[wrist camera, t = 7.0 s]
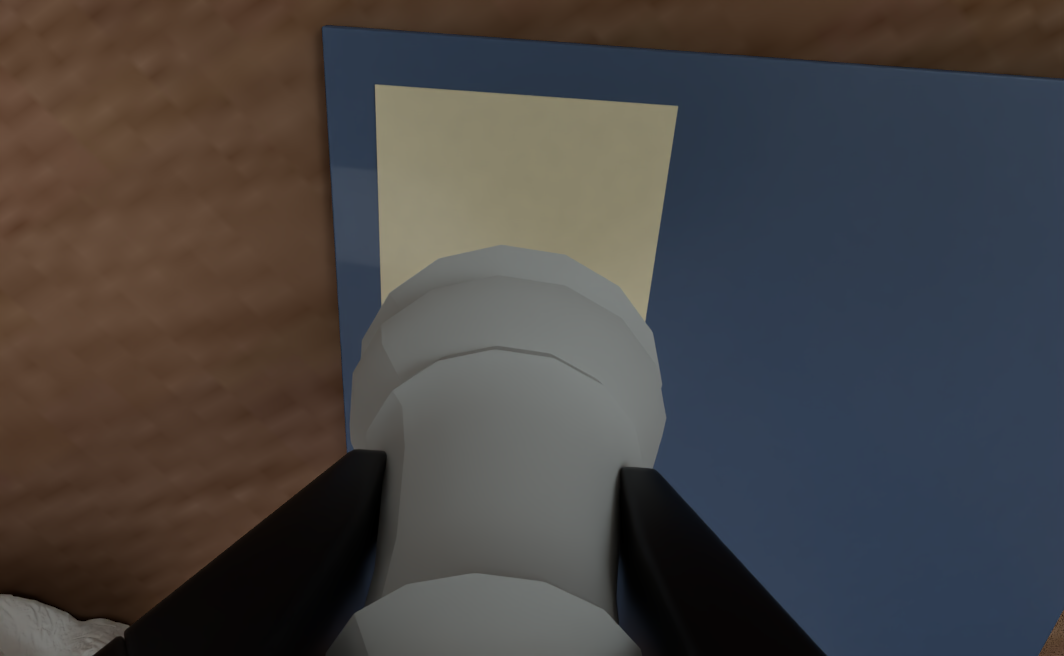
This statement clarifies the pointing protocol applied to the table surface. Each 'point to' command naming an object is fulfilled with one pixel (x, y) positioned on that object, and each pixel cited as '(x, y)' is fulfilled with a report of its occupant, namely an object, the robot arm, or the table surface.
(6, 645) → the white bunny statuette
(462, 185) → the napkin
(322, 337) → the table surface
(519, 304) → the rook chess piece
